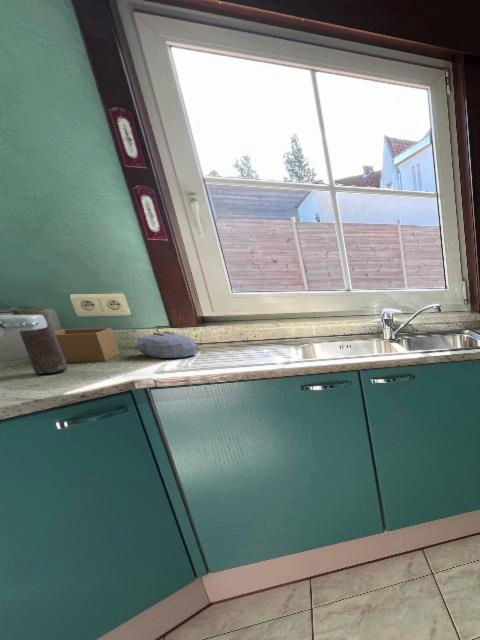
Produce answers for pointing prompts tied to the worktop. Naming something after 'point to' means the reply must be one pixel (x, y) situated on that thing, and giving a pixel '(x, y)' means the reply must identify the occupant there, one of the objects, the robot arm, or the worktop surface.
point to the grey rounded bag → (167, 345)
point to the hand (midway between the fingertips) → (7, 320)
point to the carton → (87, 344)
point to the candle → (42, 344)
